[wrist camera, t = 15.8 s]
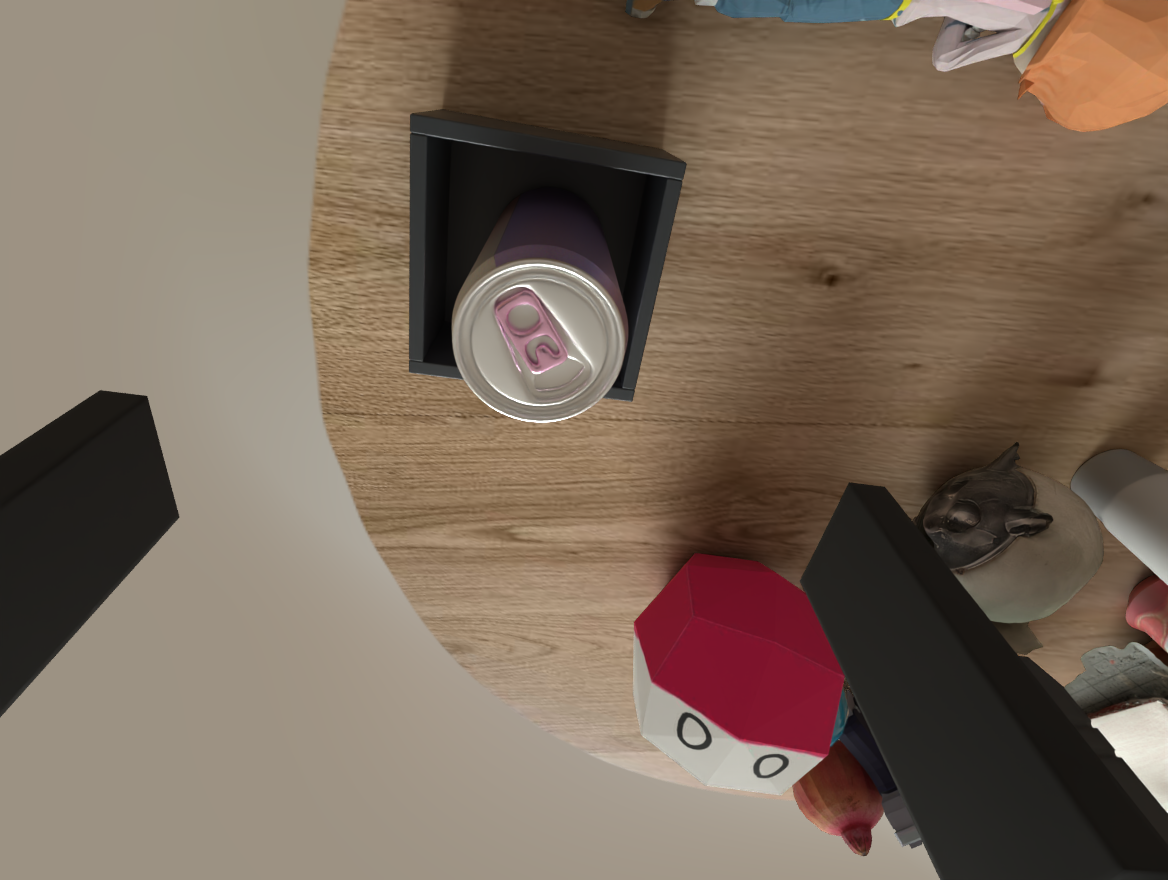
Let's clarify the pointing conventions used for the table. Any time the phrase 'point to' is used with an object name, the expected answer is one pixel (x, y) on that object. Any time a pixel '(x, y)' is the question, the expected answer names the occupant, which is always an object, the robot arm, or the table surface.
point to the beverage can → (541, 311)
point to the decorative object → (735, 676)
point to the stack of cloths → (1129, 709)
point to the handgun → (878, 773)
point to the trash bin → (492, 181)
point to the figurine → (1021, 45)
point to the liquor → (1150, 609)
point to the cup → (1129, 503)
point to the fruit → (841, 798)
